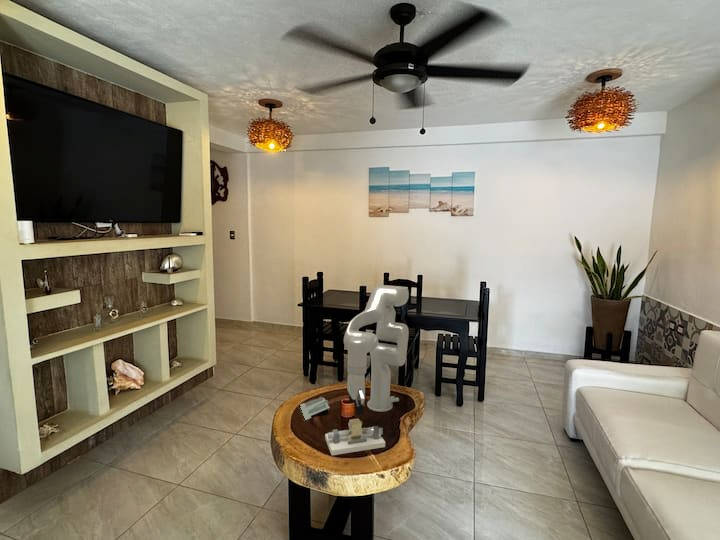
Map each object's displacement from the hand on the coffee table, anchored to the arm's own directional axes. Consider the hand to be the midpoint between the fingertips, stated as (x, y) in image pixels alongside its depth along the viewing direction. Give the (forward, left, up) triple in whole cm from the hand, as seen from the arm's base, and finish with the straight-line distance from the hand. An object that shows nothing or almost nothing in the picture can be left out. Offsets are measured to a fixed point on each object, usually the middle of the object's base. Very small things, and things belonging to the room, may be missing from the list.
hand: (356, 408), depth 148 cm
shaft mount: (0, +1, -14) cm, 14 cm away
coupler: (0, 0, -12) cm, 12 cm away
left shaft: (-7, +2, -12) cm, 14 cm away
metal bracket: (+11, -29, -15) cm, 35 cm away
